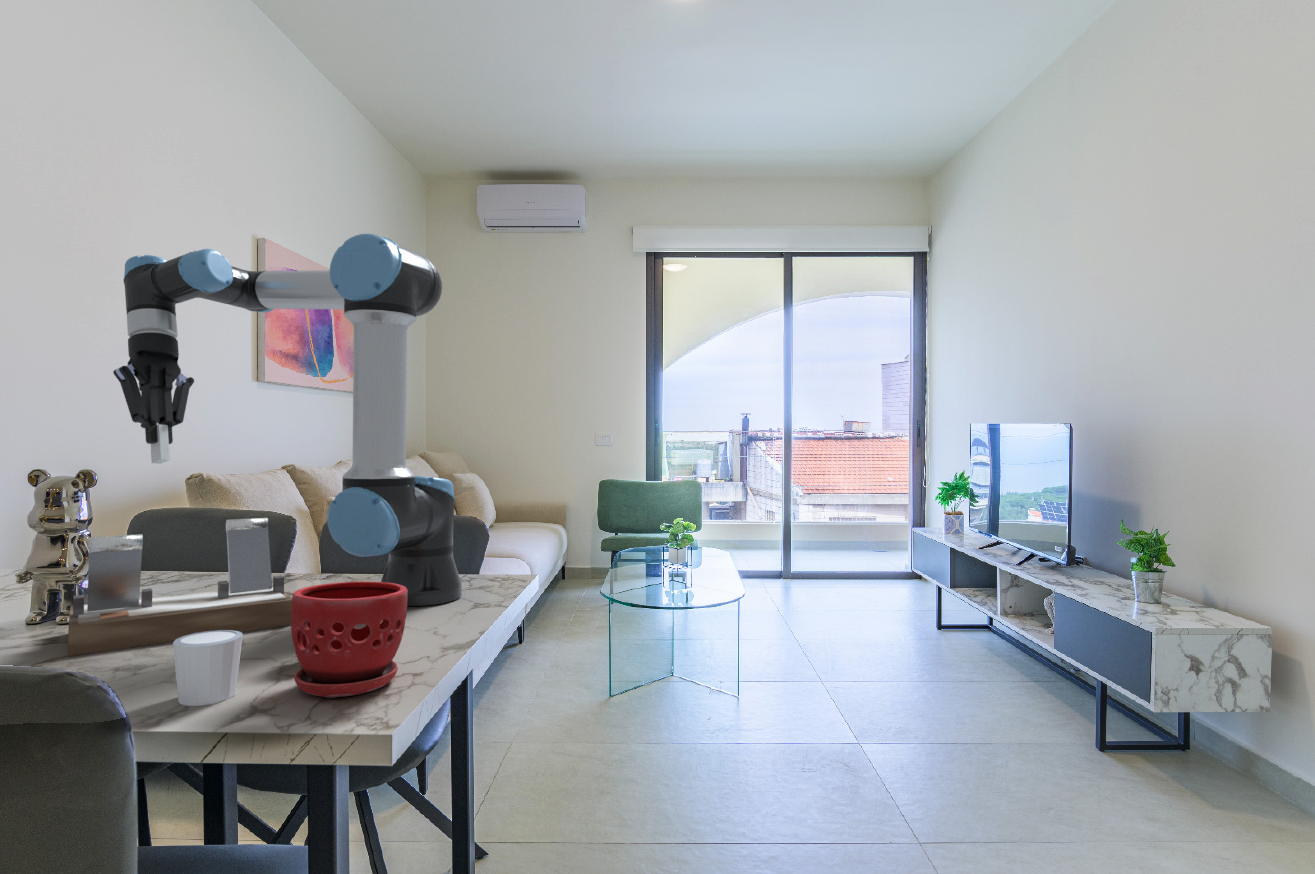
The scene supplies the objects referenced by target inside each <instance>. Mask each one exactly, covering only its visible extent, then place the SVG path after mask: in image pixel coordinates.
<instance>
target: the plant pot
mask: <svg viewBox="0 0 1315 874" xmlns="http://www.w3.org/2000/svg"><path fill="white" fill-rule="evenodd" d="M407 596H408V590H407V588H406V587H404V586H402V585H399V584H394V583H386V582H381V581H342V582H332V583H322V584H315V585H311V586H305V587H303V588H300V589H297V590H295V591H294V592H293V594H292V596H291V597H292V605H291V625H290V631H291V638H292V645H293V649H294V653H295V655H296V659H297V661H298V662H299V665H300V667H301V668H300V669H299V670H298V671H296V672H295V675H294V683H295V684H296V686H297V687H298V688H299V689H300V690H302V692H305V693H306V694H309V695H313V696H316V697H317V696H318V697H326V699H335V698H341V697H343V698H344V697H351V696H357V695H361V694H366V693H370V692H372V691H375V690H378V689H380V688H382V687H384V686H385V685H387V684H389V683H390V682H391V681H392V680H393V679H394V677H395V676H396V674H397V673H398V669H399V668H398V664H397V663H396V662H395V661H393V659H395V656H396V655H397V652H398V650H399V648H400V645H401V642H402V640H403V635H404V632H405V626H406V619H407V610H408V606H407ZM359 625H364V626H362V627H360V628H358V627H357V626H359Z"/></svg>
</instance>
